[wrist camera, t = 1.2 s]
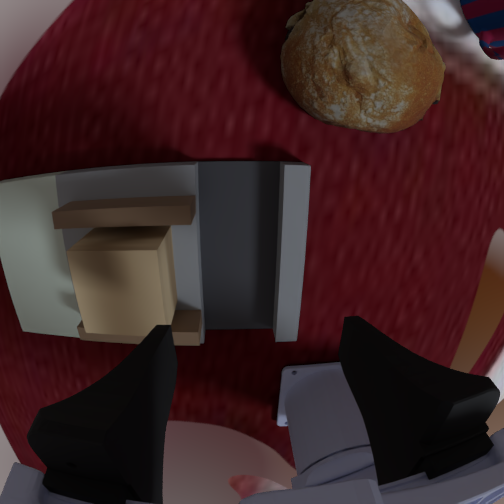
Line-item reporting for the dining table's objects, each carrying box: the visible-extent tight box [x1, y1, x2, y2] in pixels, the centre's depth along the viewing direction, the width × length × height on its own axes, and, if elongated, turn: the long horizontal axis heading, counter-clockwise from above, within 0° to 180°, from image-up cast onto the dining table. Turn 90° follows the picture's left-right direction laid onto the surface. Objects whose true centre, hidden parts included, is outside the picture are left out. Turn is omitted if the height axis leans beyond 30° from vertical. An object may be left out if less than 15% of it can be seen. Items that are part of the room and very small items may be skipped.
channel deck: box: [0, 161, 311, 346], centre depth 19 cm, size 22×12×4 cm, turn 89°
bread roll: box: [280, 0, 445, 133], centre depth 15 cm, size 10×10×8 cm
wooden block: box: [66, 225, 178, 336], centre depth 17 cm, size 5×5×4 cm
